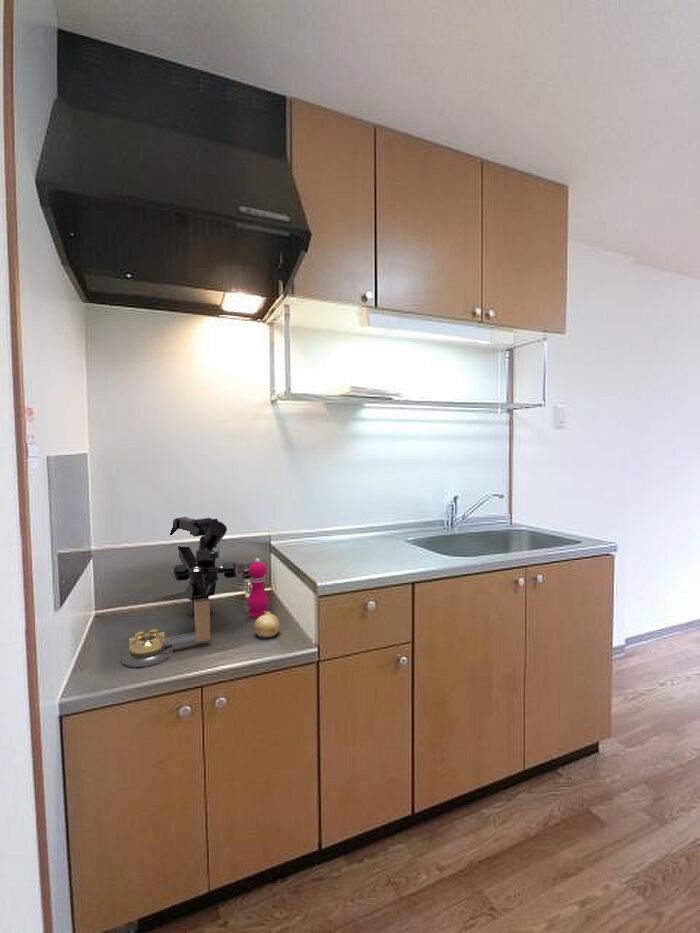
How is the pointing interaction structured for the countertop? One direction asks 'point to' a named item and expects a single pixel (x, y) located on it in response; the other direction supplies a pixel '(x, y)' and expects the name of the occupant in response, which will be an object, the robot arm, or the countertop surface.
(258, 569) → the pepper mill
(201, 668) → the countertop surface
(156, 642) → the crank handle
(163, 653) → the flange
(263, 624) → the onion
